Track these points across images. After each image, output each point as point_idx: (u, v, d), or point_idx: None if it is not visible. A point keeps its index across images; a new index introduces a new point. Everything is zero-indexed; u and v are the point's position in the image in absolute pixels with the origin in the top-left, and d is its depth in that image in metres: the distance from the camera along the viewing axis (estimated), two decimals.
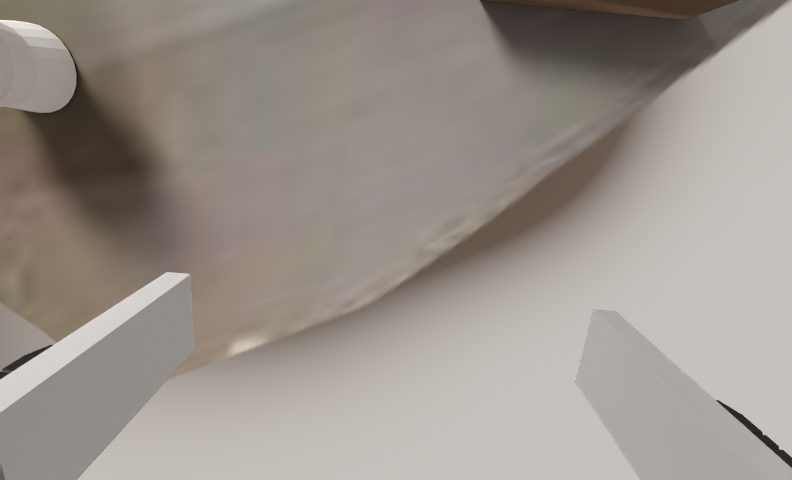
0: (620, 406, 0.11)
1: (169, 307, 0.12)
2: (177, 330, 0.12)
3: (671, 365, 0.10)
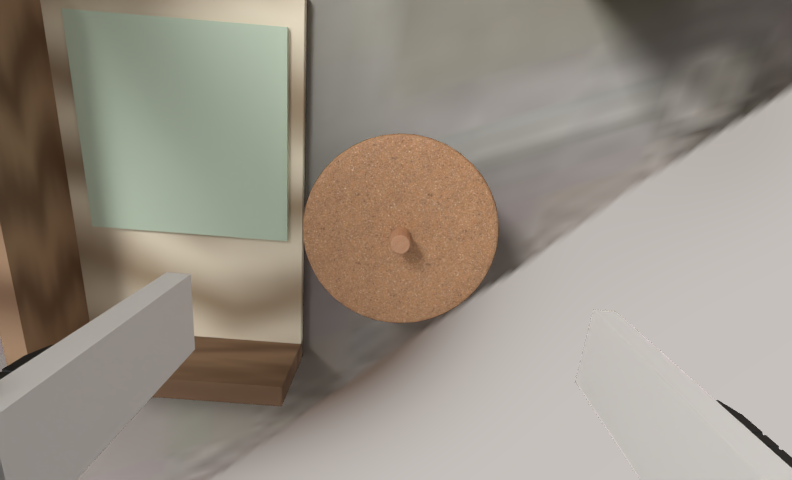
0: (620, 406, 0.11)
1: (168, 307, 0.12)
2: (177, 330, 0.12)
3: (671, 365, 0.10)
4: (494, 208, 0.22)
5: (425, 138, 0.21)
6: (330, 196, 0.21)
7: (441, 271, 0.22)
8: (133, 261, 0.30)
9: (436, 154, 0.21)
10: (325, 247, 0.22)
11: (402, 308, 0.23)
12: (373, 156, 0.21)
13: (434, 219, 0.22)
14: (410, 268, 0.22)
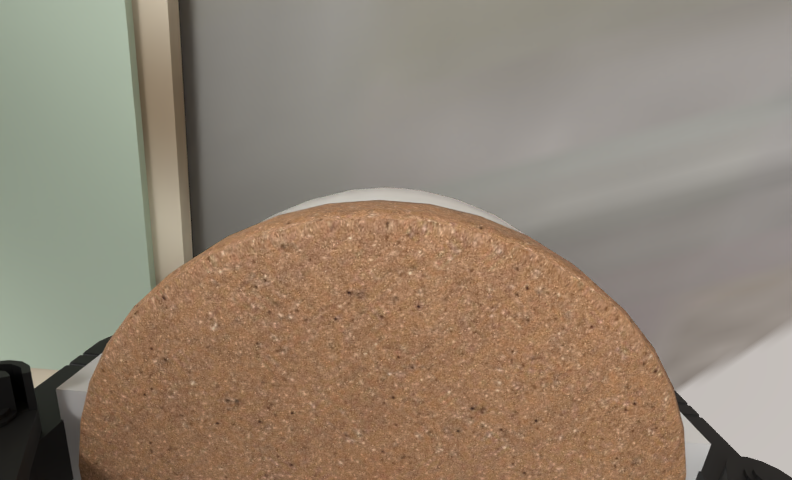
0: None
1: None
2: None
3: None
4: (682, 443, 0.07)
5: (468, 227, 0.06)
6: (147, 405, 0.06)
7: None
8: None
9: (506, 284, 0.06)
10: None
11: None
12: (282, 287, 0.06)
13: (488, 476, 0.07)
14: None
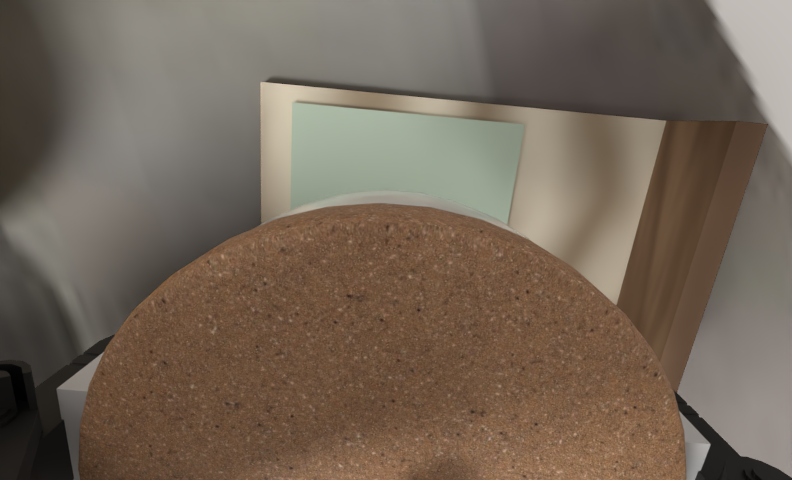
0: None
1: None
2: None
3: None
4: (682, 447, 0.07)
5: (468, 230, 0.06)
6: (147, 408, 0.06)
7: None
8: None
9: (506, 288, 0.06)
10: None
11: None
12: (282, 290, 0.06)
13: (488, 479, 0.07)
14: None
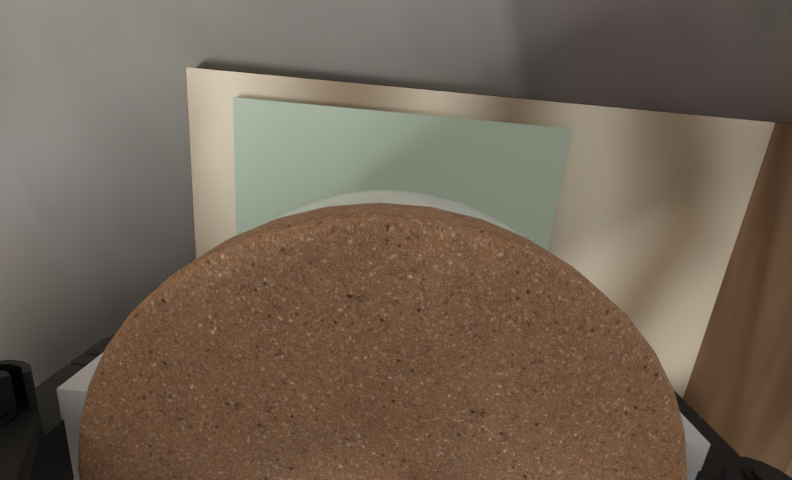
0: None
1: None
2: None
3: None
4: (683, 447, 0.07)
5: (468, 230, 0.06)
6: (147, 408, 0.06)
7: None
8: None
9: (507, 288, 0.06)
10: None
11: None
12: (282, 290, 0.06)
13: (488, 479, 0.07)
14: None
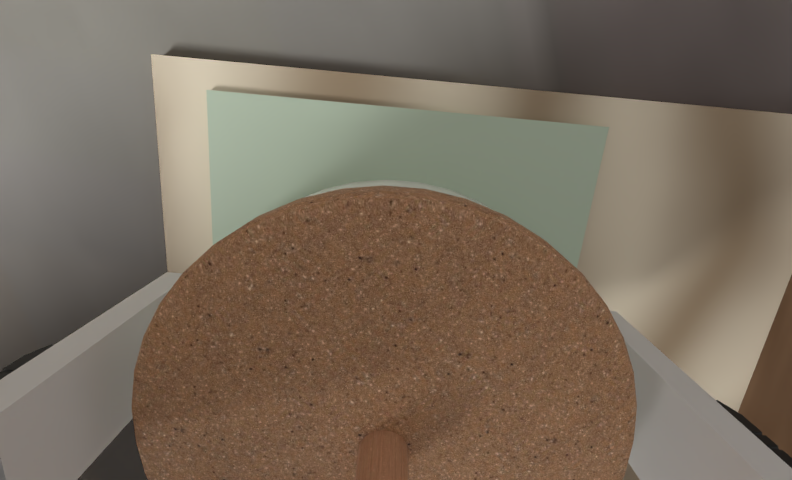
0: None
1: None
2: None
3: (671, 365, 0.10)
4: (632, 384, 0.08)
5: (455, 204, 0.07)
6: (193, 354, 0.08)
7: None
8: None
9: (486, 251, 0.07)
10: (190, 471, 0.09)
11: None
12: (306, 253, 0.07)
13: (473, 412, 0.08)
14: None
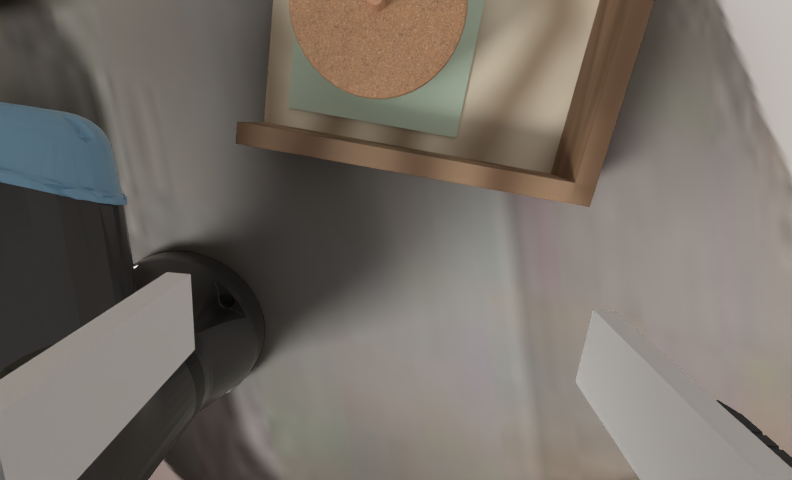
0: (619, 406, 0.11)
1: (169, 307, 0.12)
2: (177, 330, 0.12)
3: (671, 365, 0.10)
4: None
5: None
6: None
7: (412, 42, 0.24)
8: (493, 112, 0.33)
9: None
10: (307, 7, 0.24)
11: (373, 80, 0.25)
12: None
13: None
14: (384, 37, 0.24)
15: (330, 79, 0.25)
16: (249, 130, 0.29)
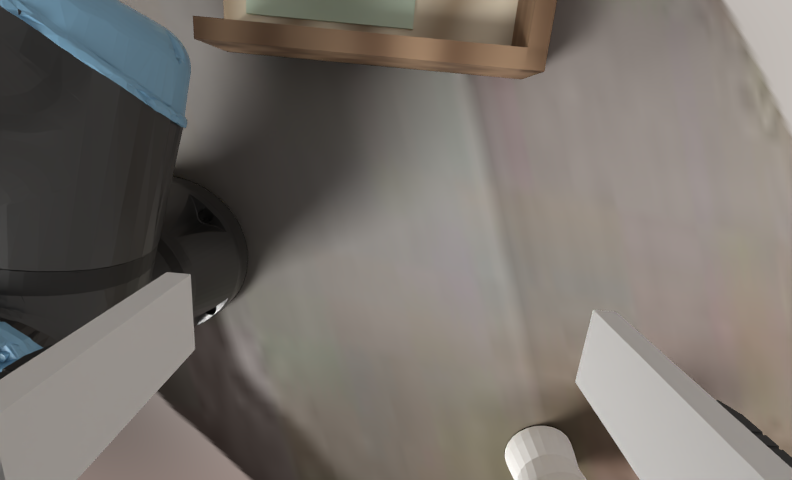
0: (620, 406, 0.11)
1: (169, 307, 0.12)
2: (177, 330, 0.12)
3: (671, 365, 0.10)
4: None
5: None
6: None
7: None
8: None
9: None
10: None
11: None
12: None
13: None
14: None
15: None
16: (206, 23, 0.30)
